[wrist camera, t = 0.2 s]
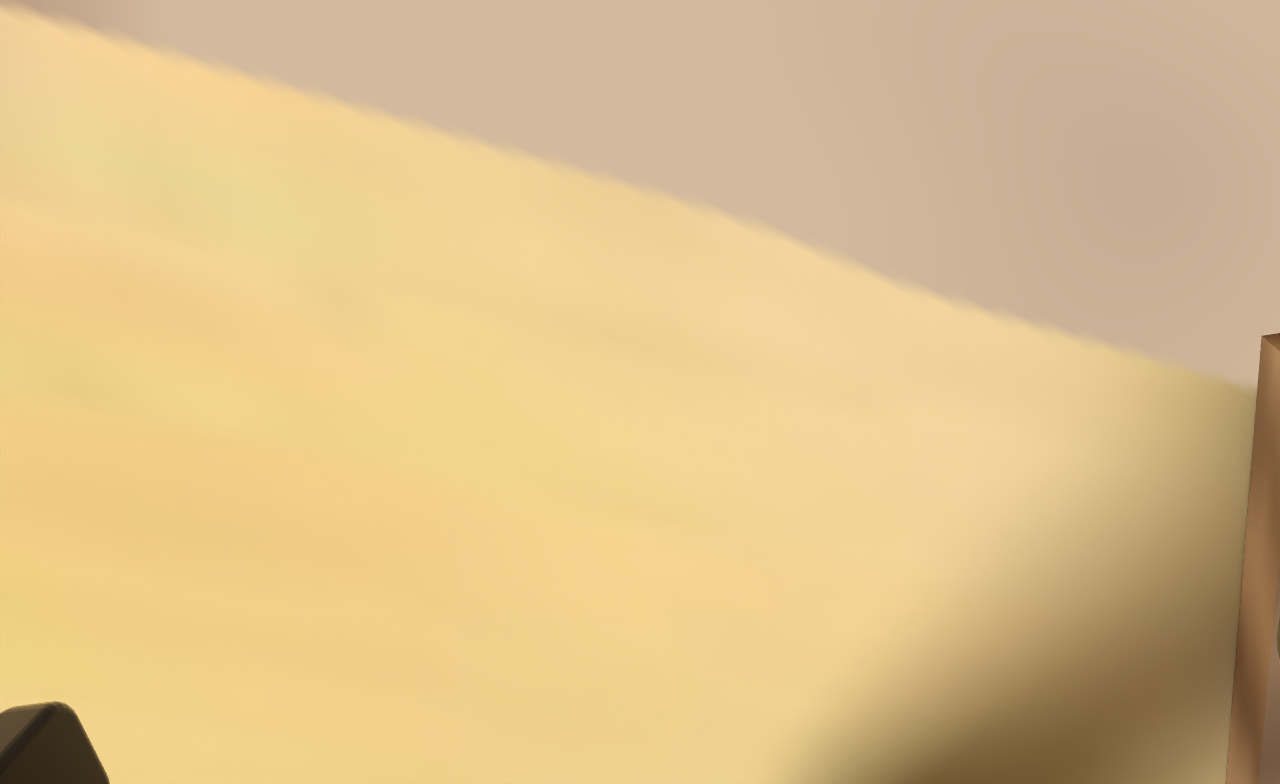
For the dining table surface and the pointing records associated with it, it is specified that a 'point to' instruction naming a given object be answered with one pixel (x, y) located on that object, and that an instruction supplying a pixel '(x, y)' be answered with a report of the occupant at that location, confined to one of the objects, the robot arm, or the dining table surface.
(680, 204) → the dining table surface
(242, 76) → the dining table surface
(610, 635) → the dining table surface
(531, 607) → the dining table surface
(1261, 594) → the shelf board
